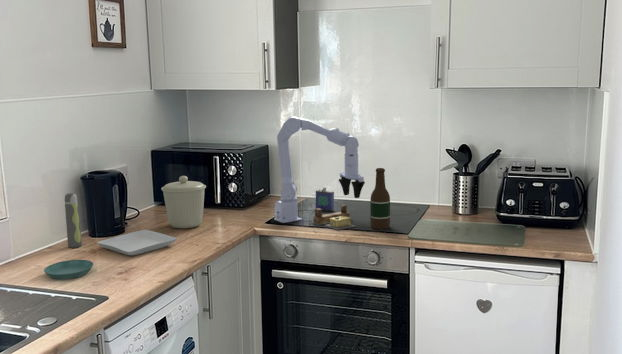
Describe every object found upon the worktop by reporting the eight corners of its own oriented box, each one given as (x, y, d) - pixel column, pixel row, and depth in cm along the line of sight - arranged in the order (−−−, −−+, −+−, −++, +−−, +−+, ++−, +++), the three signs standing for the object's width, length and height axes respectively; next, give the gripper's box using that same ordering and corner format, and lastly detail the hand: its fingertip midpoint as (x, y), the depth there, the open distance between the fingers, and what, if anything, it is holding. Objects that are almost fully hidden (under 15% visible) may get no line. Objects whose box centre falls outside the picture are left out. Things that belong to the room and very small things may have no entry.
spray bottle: (85, 245, 226) (80, 192, 223) (74, 248, 222) (70, 195, 219) (75, 244, 229) (70, 192, 225) (65, 247, 224) (60, 194, 221)
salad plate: (129, 260, 208) (128, 251, 207) (96, 250, 222) (95, 241, 221) (179, 246, 224) (178, 237, 223) (145, 237, 238) (145, 228, 237)
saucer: (49, 269, 200) (48, 261, 199) (96, 265, 203) (95, 257, 203) (40, 284, 186) (39, 275, 185) (91, 279, 189) (90, 271, 189)
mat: (337, 230, 241) (337, 229, 241) (324, 225, 248) (324, 224, 248) (355, 226, 246) (355, 225, 245) (342, 222, 253) (342, 221, 253)
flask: (335, 210, 275) (334, 187, 273) (332, 212, 273) (331, 188, 271) (317, 208, 280) (316, 186, 278) (314, 210, 277) (313, 187, 275)
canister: (212, 228, 248) (209, 177, 244) (167, 233, 241) (164, 181, 238) (203, 218, 265) (200, 171, 261) (160, 223, 258) (157, 174, 254)
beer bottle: (389, 225, 247) (389, 166, 243) (390, 229, 240) (390, 169, 236) (370, 224, 248) (370, 166, 244) (370, 229, 241) (370, 170, 237)
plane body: (317, 225, 250) (317, 210, 249) (312, 223, 253) (312, 208, 252) (350, 219, 258) (350, 205, 257) (345, 217, 261) (344, 203, 260)
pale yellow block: (336, 227, 243) (336, 219, 242) (329, 225, 247) (329, 217, 247) (350, 225, 247) (350, 216, 246) (343, 222, 251) (343, 214, 250)
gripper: (369, 165, 251) (369, 197, 253) (349, 161, 263) (349, 192, 265) (355, 167, 247) (356, 200, 249) (335, 163, 259) (336, 194, 261)
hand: (351, 196), depth 257 cm, fingers open, 7 cm apart
